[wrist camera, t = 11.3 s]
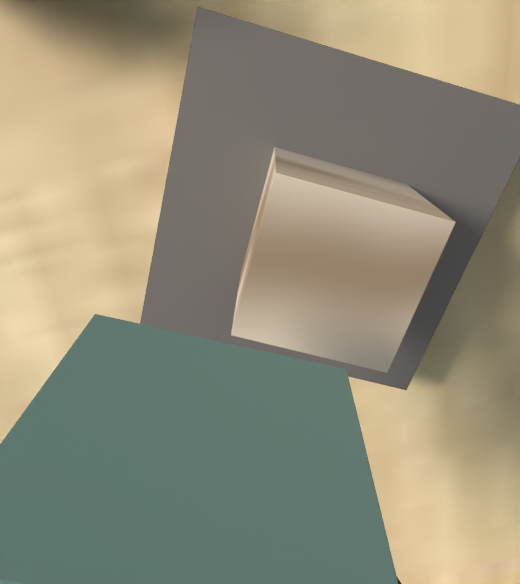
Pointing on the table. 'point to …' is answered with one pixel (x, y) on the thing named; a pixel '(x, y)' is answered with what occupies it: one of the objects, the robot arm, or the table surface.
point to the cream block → (336, 261)
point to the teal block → (188, 469)
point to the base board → (320, 145)
